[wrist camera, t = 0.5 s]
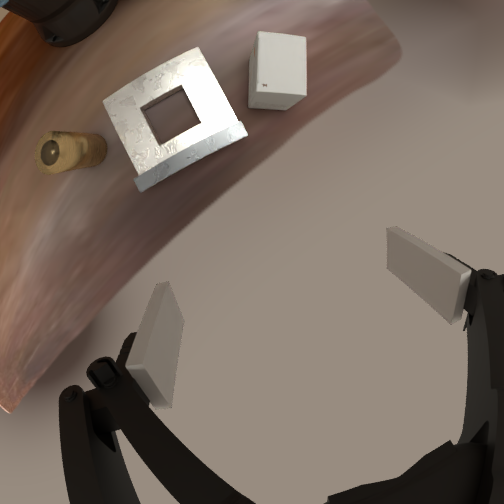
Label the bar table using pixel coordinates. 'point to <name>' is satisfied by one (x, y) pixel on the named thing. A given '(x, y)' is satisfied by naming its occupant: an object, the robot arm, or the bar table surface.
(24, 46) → the bar table surface
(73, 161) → the bushing
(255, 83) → the small box
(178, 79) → the plate
